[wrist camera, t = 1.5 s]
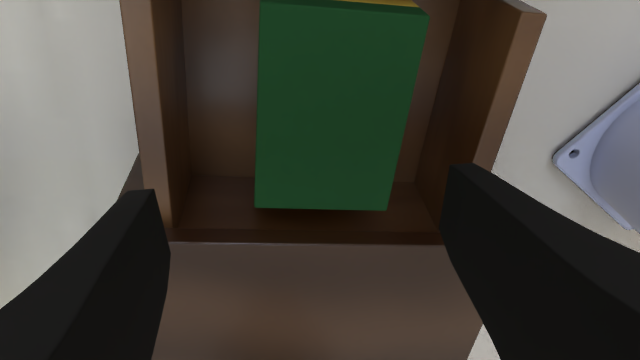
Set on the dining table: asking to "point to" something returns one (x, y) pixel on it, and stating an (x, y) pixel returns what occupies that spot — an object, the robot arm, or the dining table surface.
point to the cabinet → (311, 295)
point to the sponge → (333, 100)
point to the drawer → (241, 109)
